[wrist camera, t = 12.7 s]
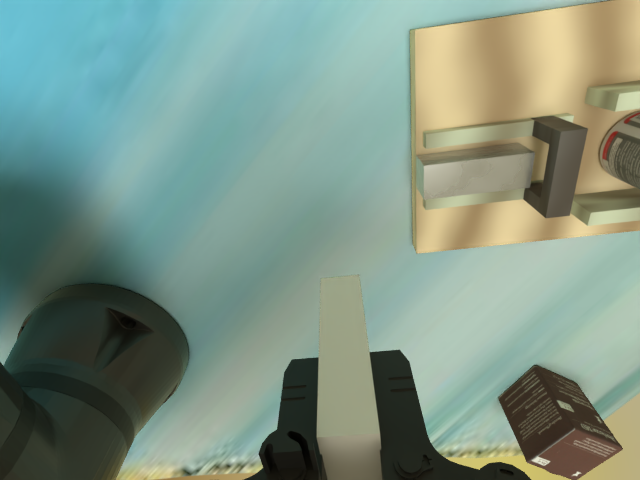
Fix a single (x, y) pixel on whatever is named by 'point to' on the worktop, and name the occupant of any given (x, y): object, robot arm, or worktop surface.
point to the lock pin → (474, 171)
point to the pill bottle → (623, 150)
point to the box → (557, 424)
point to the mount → (527, 121)
